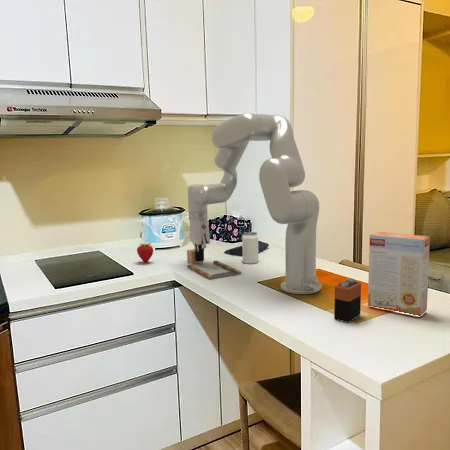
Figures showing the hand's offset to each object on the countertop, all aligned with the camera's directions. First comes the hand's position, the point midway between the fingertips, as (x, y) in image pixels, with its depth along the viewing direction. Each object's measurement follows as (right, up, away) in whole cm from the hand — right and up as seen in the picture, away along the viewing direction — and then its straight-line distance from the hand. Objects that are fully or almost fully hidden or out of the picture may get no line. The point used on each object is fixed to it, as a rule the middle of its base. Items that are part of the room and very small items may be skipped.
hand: (199, 260), depth 169 cm
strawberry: (-23, -2, +5) cm, 23 cm away
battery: (+42, -10, -60) cm, 74 cm away
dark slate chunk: (+21, +2, +23) cm, 31 cm away
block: (-2, -1, +5) cm, 5 cm away
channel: (+6, -3, -10) cm, 12 cm away
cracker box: (+57, -9, -55) cm, 80 cm away
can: (+21, -1, +2) cm, 21 cm away
